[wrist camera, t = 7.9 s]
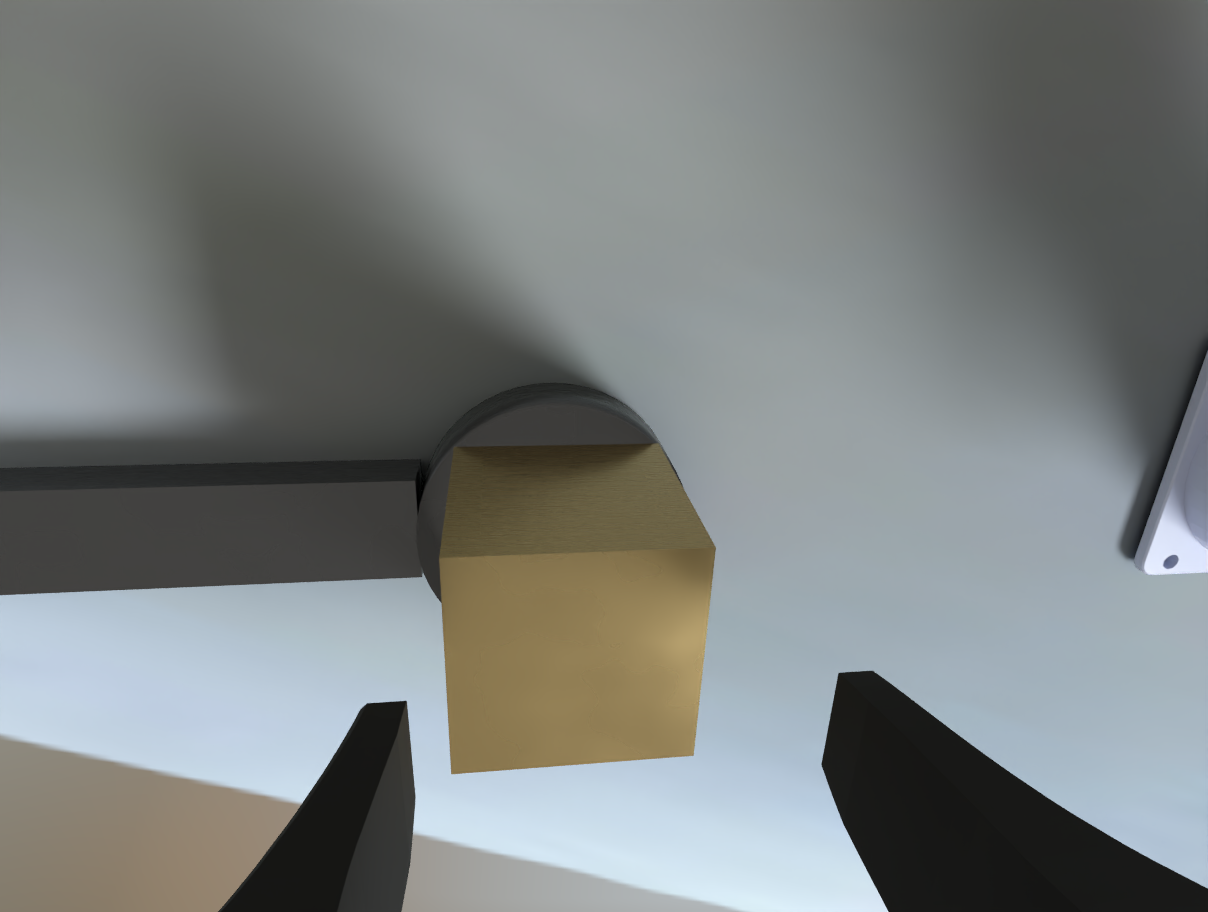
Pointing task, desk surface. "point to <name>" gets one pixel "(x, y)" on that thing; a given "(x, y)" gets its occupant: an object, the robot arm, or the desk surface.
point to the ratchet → (271, 508)
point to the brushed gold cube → (571, 606)
